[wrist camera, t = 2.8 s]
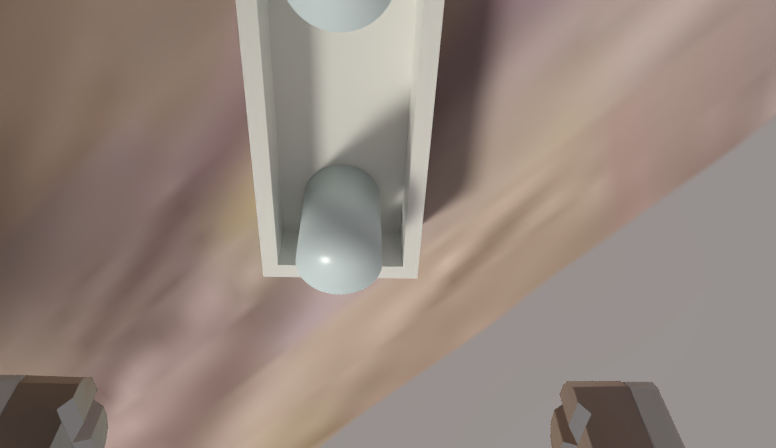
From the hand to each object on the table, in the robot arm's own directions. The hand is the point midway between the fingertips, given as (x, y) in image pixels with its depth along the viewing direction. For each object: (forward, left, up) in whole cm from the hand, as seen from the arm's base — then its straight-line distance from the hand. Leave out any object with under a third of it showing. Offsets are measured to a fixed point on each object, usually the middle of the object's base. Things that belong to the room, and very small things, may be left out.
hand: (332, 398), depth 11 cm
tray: (0, 0, -14) cm, 14 cm away
